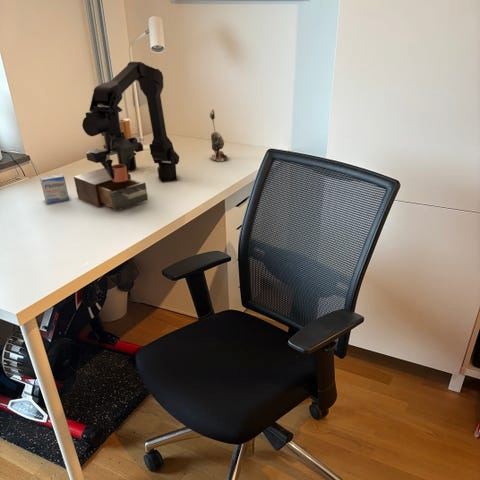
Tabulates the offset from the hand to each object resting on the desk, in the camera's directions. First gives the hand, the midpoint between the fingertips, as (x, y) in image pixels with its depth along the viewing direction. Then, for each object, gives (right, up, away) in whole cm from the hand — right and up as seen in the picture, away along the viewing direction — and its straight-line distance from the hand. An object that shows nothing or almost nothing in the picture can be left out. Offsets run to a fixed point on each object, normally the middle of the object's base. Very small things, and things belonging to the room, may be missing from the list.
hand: (119, 176), depth 170 cm
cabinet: (-8, -4, +12) cm, 15 cm away
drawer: (+1, -8, +4) cm, 9 cm away
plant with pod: (+32, +21, +48) cm, 61 cm away
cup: (0, -1, +1) cm, 1 cm away
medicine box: (-25, -6, +11) cm, 28 cm away
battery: (-6, +14, +39) cm, 42 cm away
